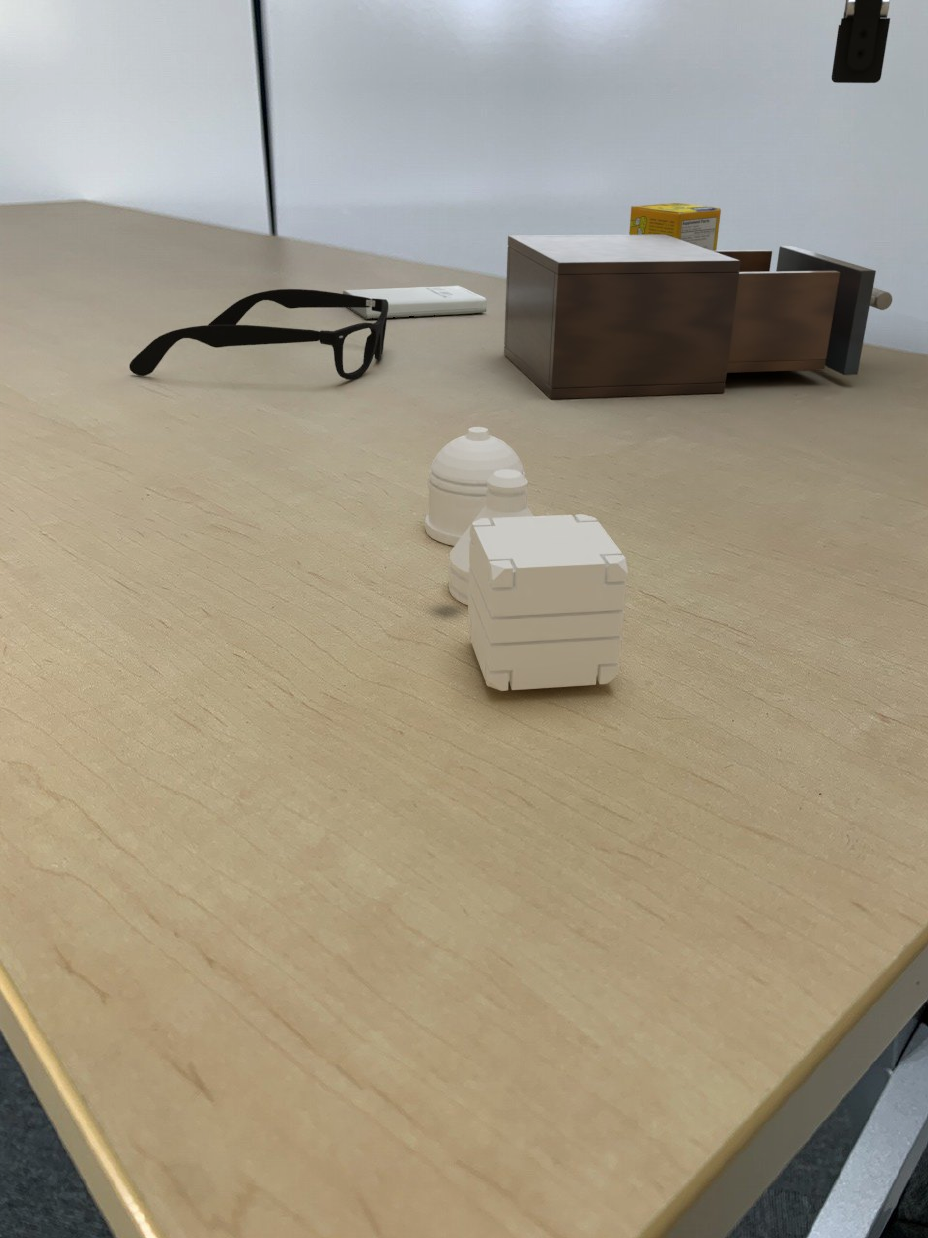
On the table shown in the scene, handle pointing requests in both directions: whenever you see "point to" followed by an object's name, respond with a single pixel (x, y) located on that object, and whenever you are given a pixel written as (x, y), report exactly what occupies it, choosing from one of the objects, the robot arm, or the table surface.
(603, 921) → the table surface
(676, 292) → the cabinet
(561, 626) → the container set
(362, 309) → the hard drive
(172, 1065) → the table surface
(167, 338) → the glasses
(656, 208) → the supplement box
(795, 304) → the drawer
